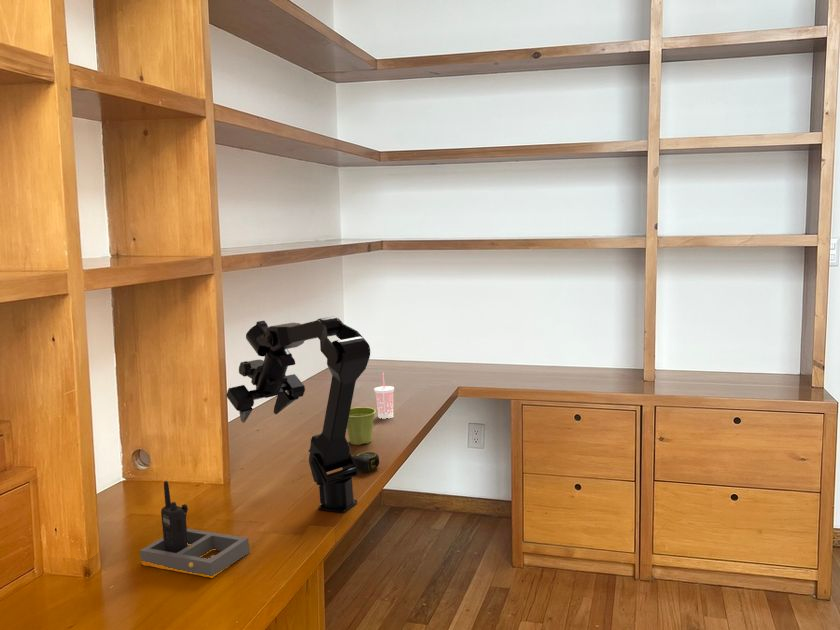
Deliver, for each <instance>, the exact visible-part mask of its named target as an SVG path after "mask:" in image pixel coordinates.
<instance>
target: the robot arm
mask: <svg viewBox="0 0 840 630" xmlns="http://www.w3.org/2000/svg"><path fill="white" fill-rule="evenodd" d="M333 336H336V337H337V338H338V340H333V341H331V340H330V339H329V337H333ZM245 338H246V341H247V342H248V344H249V345H250V346H251V348H252V349H253V350H254V352H255V353H256V354H257V355H258V357H264V358H263V359H253V360H249V361H248V360H246V361H241V362H240V364H239V367H238V373H239V375H240V376H242V377H243V378H245V377H248V378H250V379H251V382H250V383H251V384H252V385H253V386H255V389H252V390H248V388H247V387H246V386H245V384H241V385H238V386H232V387H229V388H228V389H227V392H226V395H225V396H226V398H227V399H228V400H229V402H230V403H231V405H232V406H233V408H234V409H235V410H236V411H238V412H239V417H240V422H241V423H243V424H244V423H245V422H247V420H248V418H249V416H250V415H251V413H252V412H253V410H254V408H253V406H254V405H255V401H257V400H260V399H268V398H272V397H276V396H277V397H276V401H275V403H274V407H273V414H274V415H278V414H279V413H281V412H282V411H284V410H285V408H286V407H288V406H289V405H290V404H292V403H294V401H297V400H298V399H299V398H302V397H304V395H305V392H306V386H305V385H304V383H303V382H302V381H301V379H299V376H297V375H296V374H295V373H293V374H288V375H286V373H287V371H288V367H290V366H295V365H296V360H295V358H294V357H293V354H292V353H291V352H290V350H289V349H294V348H298V347H300V346H302V345H303V344H304V343H305V341H309V340H313V339H318V340H319V347H320V352H321V353H322V354H323V355H324V357H325V358H326V361H327V362H326V366H327V367H328V370H329V371H330V373H331V382H330V388H329V392H328V393H329V394H328V398H327V399H328V400H327V404H326V410H325V415H324V421H323V426H322V431H321V433H319V434H315V435H312V437H311V439H310V447H309V449H308V453H309V457H308V464H309V467H310V471H311V475H312V478H313V482H314V483H316V485H317V486H318V492H319V503H320V505H319V506H317V509H318V510H320V511H327V512H335V513H343V514H344V513H345V512H347V511H348V510H349V509H350V508H352V507H353V506H354V505H356V504H357V503H358V499H354V490H353V489H354V487H353V478H355V477H358V475H359V471H360V470H359V468H358V466H357V464H356V462H355V461H354V459H353V457H352V456H353V455H352V454H351V446H350V444H349V441H348V440H347V438H346V434H347V424H348V419H349V414H350V409H351V408H352V403H353V398H354V392H355V386H356V383H357V382H356V381H357V380H358V379H359V378H360V376H362V374H363V373H364V372H365V370H366V369H367V366H368V363H369V360H370V357H371V347H370V344H369V343H368V342H367V340H366V339H365V338H364V337H363V335H362V334H361V333H360V332H359V331H357V330H356V329H354V328H352V327H350V326H348V325H347V324H345V323H344V322H343V321H342V320H341V319H340V318H339V317H337V316H327V317H321V318H318V319H316V320H313V321H310V322H305V323H300V322H299V323H298V322H289V323H283V324H277V325H276V324H275V325H271V326H268V323H267V322H266V321H265V320H259V321H256V324H255V325H253V326H252V327H250V329H249V330H248V331H247V332H246V334H245ZM338 469H339V470H338ZM335 470H338V471H335ZM332 471H334V472H332ZM328 472H331V473H328Z"/></svg>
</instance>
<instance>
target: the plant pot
mask: <svg viewBox="0 0 840 630" xmlns="http://www.w3.org/2000/svg"><path fill="white" fill-rule="evenodd" d="M376 413H377V410H376V409H375V408H374V407H367V406H359V407H351V409H350V414H349V419H348V424H347V429H346V432H347V436H348V440H349V441H348V443H350V444H351V445H356V446H357V445H358V446H361V444H362V445H364V444H370V443H371V442H372V441H373V427H374V418H375V414H376ZM369 442H370V443H369Z"/></svg>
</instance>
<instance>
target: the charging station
mask: <svg viewBox="0 0 840 630" xmlns="http://www.w3.org/2000/svg"><path fill="white" fill-rule="evenodd" d="M187 543H188V544H191V545H189V546H188V547H186V548H184V549H183V550H181V551H179V552H178V553H172V552H167V551H165V544H164V539H163V536H162V537H161V538H159V539H157V540H155V541H153V542H151V544H148V545H147V546H145V547H142V548H141V549H140V550H139V553H140V554H139V555H140V562H141V561H145V562H150V563H153V564H157V565H163V566H165V567H168V568H173V569H177V570H183V571H187V572H192V573H197V574H198V573H199V574H204V575H209V576H213V575H214V574H216V573H218V572H220V571H221V570H223V569H225V568H226V567H228V566H229V565H231V564H232V563H234V562H236V561H237V560H239V559H240V558H242V557H243V558H245V557H246V556H248V555H249V554H250V543H249V537H244V536H238V535H237V536H236V535H231V534H223V533H218V532H211V531H206V530H200V529H193V528H187ZM212 549H216V550H220V551H219V552H218V553H217V554H212V555H210V556H209V557H211V558H209V557H207V558H208V559H207V558H206V557H202V558H201V557H200V556H202V555H204V554H206V553H207V552H209V551H210V550H212ZM248 553H249V554H248ZM247 554H248V555H247ZM245 555H246V556H245ZM244 556H245V557H244ZM243 558H242V559H243ZM240 560H241V559H240ZM240 560H239V561H240ZM237 562H238V561H237ZM237 562H236V563H237Z"/></svg>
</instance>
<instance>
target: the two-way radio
mask: <svg viewBox="0 0 840 630" xmlns="http://www.w3.org/2000/svg"><path fill="white" fill-rule="evenodd" d="M169 486H170V485H169V482H168V480H165V481H164V482H163V493H164V494H163V495H164V504H165V505H164V506H163V507H162V508H161V511H160V515H161V526H162V534H163V536H162V537H163V539H164V544H165V551H167V552H172V553H178V552H179V551H181V550H183V549H184V548H186V547H188V545H187V529H188V528H187V513H188V510H189V509H188V504H182V505H181V506H179V505H177V503H176V502H175V501H171V495H170V494H171V493H170V487H169Z"/></svg>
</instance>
